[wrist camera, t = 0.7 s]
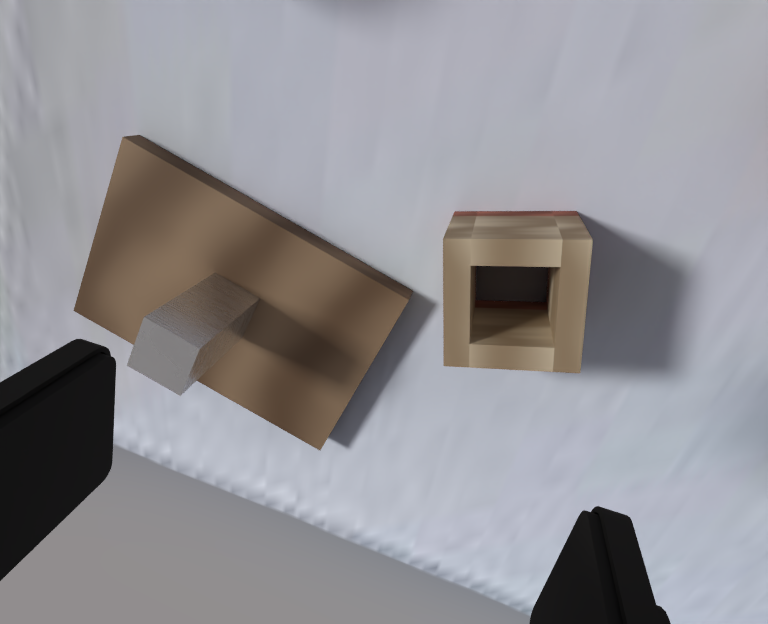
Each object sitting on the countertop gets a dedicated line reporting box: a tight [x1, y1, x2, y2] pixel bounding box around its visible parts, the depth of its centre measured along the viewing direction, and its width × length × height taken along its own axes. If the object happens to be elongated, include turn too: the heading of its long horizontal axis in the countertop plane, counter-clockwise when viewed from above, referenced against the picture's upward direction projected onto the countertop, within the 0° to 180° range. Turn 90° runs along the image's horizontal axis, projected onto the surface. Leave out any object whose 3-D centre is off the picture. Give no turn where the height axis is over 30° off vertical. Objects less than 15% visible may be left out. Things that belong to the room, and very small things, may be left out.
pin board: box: [74, 135, 413, 450], centre depth 34 cm, size 18×12×2 cm, turn 63°
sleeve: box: [443, 211, 593, 373], centre depth 28 cm, size 6×6×6 cm
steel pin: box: [127, 273, 260, 396], centre depth 30 cm, size 3×3×7 cm
